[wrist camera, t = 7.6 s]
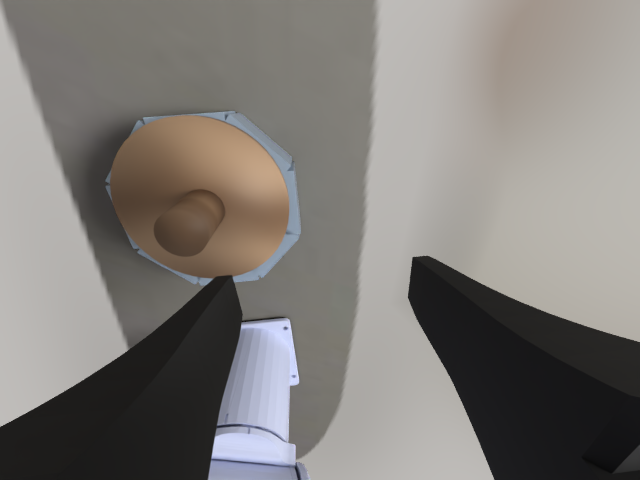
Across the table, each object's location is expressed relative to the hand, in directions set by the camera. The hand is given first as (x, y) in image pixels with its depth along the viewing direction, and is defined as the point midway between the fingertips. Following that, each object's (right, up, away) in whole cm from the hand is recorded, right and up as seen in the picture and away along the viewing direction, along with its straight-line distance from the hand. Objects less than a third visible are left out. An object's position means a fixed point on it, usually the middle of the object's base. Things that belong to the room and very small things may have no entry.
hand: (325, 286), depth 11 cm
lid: (-7, +4, +6) cm, 10 cm away
